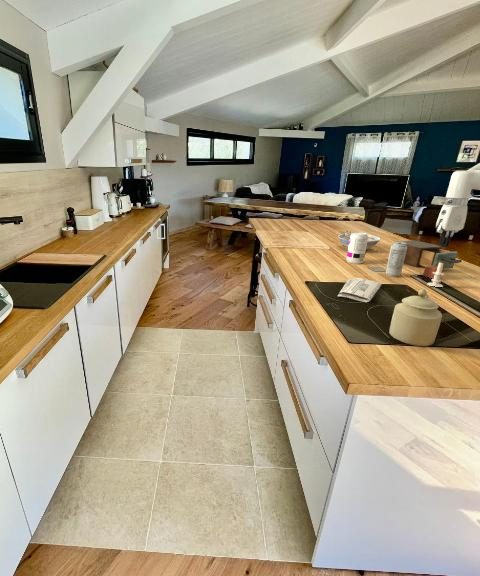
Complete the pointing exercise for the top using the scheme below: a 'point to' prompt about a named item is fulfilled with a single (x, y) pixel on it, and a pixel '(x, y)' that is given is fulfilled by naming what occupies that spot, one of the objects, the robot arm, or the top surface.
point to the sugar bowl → (416, 320)
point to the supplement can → (357, 247)
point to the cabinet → (416, 251)
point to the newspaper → (360, 289)
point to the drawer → (438, 258)
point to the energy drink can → (396, 259)
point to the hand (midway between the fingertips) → (443, 245)
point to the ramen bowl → (370, 243)
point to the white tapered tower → (437, 276)
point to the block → (430, 271)
